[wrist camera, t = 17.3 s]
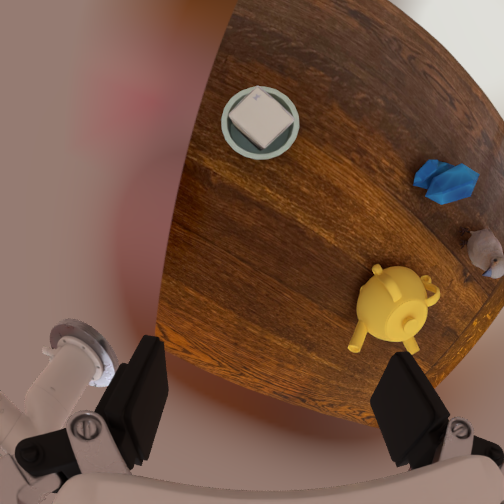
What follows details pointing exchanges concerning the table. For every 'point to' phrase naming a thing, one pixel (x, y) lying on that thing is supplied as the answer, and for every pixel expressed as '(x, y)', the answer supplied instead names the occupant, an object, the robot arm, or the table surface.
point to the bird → (485, 252)
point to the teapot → (393, 306)
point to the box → (260, 118)
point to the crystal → (445, 181)
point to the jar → (249, 149)
